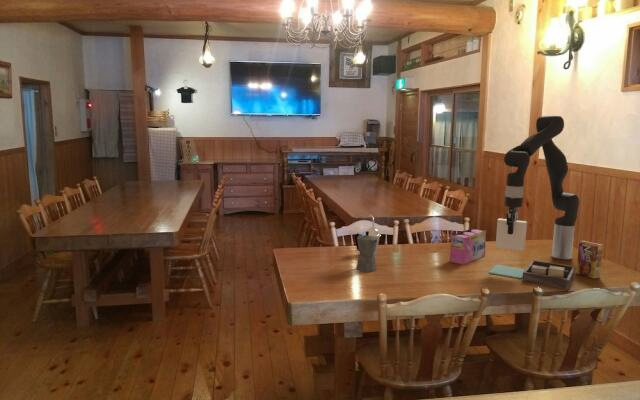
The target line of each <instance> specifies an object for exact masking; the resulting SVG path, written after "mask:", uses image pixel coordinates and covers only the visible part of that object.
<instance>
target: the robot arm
mask: <svg viewBox="0 0 640 400" xmlns="http://www.w3.org/2000/svg"><path fill="white" fill-rule="evenodd" d="M535 128H536V133H534V134H532V135H530V136H528V137H526V139H525V140H523V141H522V142H521V143H520V144H519V145H517V146H514V147H513V148H511V149H510V150H508V151H507V152H506V153H505V155H504V157H503V162H504V164H505V165H506V166H507V167H513V168H517V169H516V171H513V172H512V171H511V172H509V173H508V174H507V176H506V187H505V192H504V206H505V207H508V210H507V212H506V219H507V225H508V234H513V227H514V221H515V220H518V218H519V211H520V209H518V208H522V207H523V204H524V203H523V202H524V191H525V190H524V184H525V177H526V173H527V170H528V167H529V164H530V161H531V157H532V156H534V154H535V153H536V152H537V151H538V150H539V149H540V148H542V151H543V155H544V161H545V166H546V171H547V174H548V179H549V183H550V191H551V200H552V204H553V207H554V209H555V210H558V211H563V212H564V215H562V216H558V217H555V219H554V224H553V225H554V226H553V228H554V229H553V238H552V239H553V240H552V249H551V257H552V258H554V259H558V260H571V259H572V256H573V247H574V238H575V237H574V236H575V228H576V221H577V218H578V213H579V208H580V207H579V206H580V200H579V196H578V195H577V194H575V193H569V192H565V191H564V189H563V188H564V187H563V184H564V183H563V182H564V181H565V179H566V177H567V174H568V171H569V166H568V161H567V156H566V155H565V154H564V152H563V151H562V150H561V149H560V148H559V147H558V146H557V145H556V144H555V142H554V141H553V138H555V137H557V136H559V135H560V134H561V133H562V132H563V130H564V128H565V120H564V118H563V117H562V116H561V115H556V114H555V115H541V116H539V117H537V119H536V121H535ZM510 221H511V223H509V222H510Z"/></svg>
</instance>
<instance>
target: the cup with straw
mask: <svg viewBox="0 0 640 400" xmlns="http://www.w3.org/2000/svg"><path fill="white" fill-rule="evenodd" d="M369 215H370V217H371V218H372V227H369V228H368V229H366V231H368V232H369V235H370V236H375V237H376V238H377V244H376V249H375V252H374V256H375V255H378V254H377V253H378V248H379V241H380V237H382V234H381V233H380V231H379V229H378V228H376V227H375V217H374V216H373V215H372V213H370V214H369ZM364 235H366V232H364Z"/></svg>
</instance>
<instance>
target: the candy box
mask: <svg viewBox="0 0 640 400" xmlns="http://www.w3.org/2000/svg"><path fill="white" fill-rule="evenodd" d="M603 248H604V244H602V243H597V242H596V243H595V242H591V241H587V240H580V241H579V242H578V249H577V251H578V253H577V260H576V261H577V262H576V269H575V271H576V272H575V273H576V274H577V275H581V276H584V277H586V278H587V277H588V278H590V279H599V278H600V277H601V276H600V274H601V266H602V258H603V250H604V249H603Z"/></svg>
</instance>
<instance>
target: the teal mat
mask: <svg viewBox="0 0 640 400" xmlns="http://www.w3.org/2000/svg"><path fill="white" fill-rule="evenodd" d="M525 269H526V268H525ZM525 269H524V268H519V267H513V266H506V265H502V264H496V265H494V266H493V267H492V268H491V269H490V270H489V271H488V274H489V275H490V274H491V275H497V276H501V277H505V278H506V277H507V278H513V279H519V280H523V272H524V270H525Z"/></svg>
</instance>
